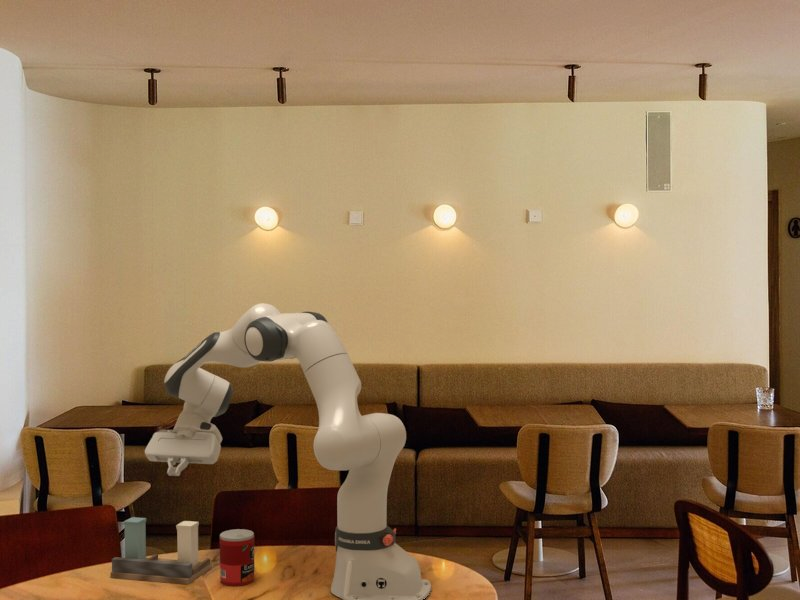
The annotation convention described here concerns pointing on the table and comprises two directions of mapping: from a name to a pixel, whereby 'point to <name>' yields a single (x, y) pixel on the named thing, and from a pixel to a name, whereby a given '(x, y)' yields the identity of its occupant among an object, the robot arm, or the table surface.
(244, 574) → the canned food
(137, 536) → the light blue tall block
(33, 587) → the table surface
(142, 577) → the board
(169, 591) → the table surface
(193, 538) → the cream tall block
